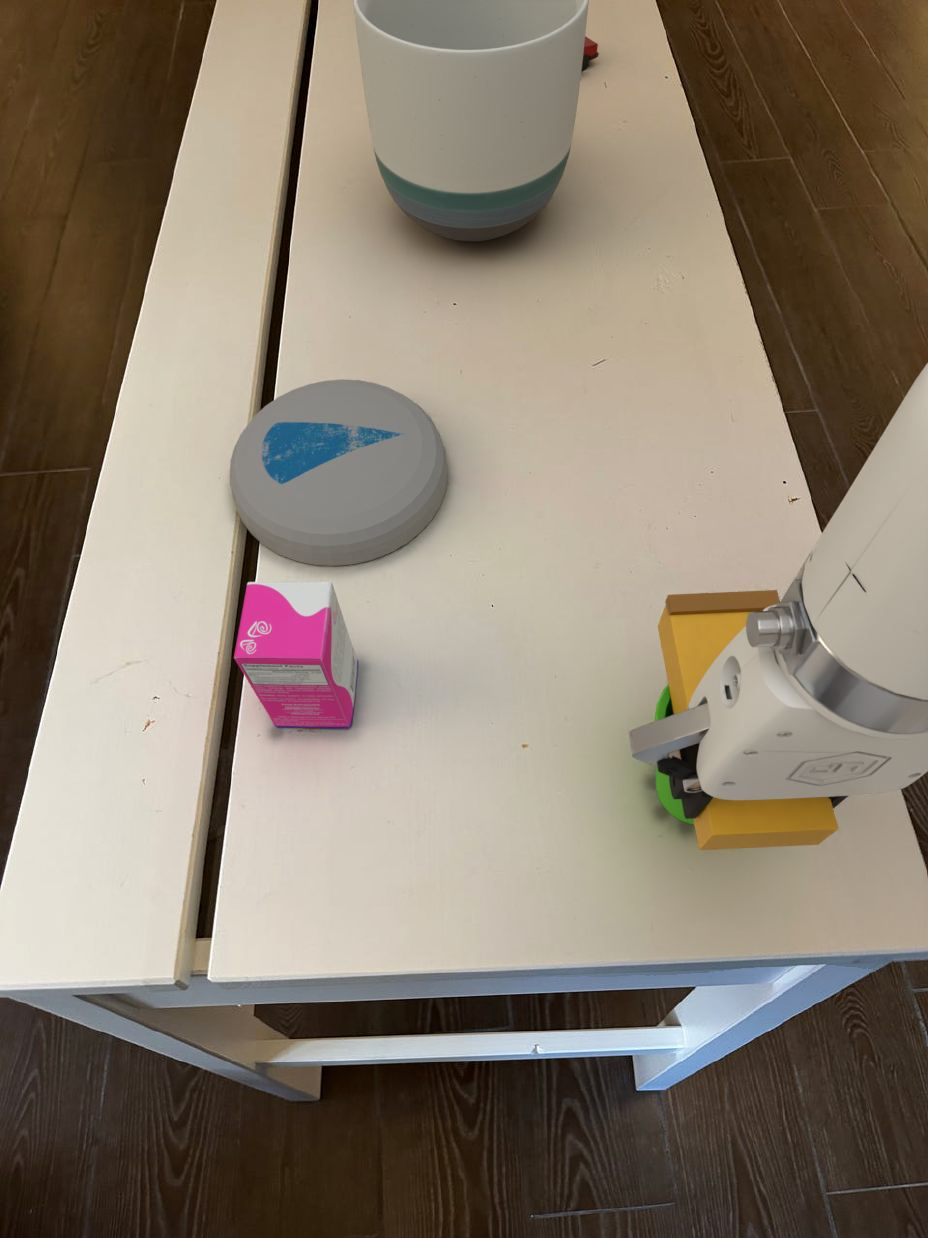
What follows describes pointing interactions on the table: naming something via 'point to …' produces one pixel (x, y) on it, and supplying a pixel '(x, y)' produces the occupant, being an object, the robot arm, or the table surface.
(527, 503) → the table surface
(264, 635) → the supplement box
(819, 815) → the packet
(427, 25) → the planter
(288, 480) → the grey frisbee
